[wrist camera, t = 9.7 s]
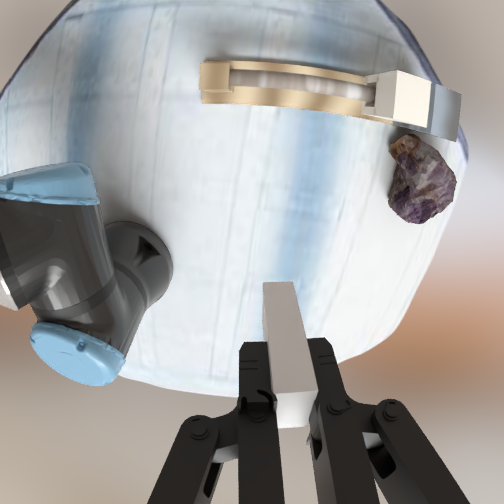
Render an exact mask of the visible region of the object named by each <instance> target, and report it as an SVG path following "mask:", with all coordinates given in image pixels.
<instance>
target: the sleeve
mask: <svg viewBox="0 0 504 504" xmlns="http://www.w3.org/2000/svg"><path fill="white" fill-rule="evenodd" d="M364 85H367V86H372V87H376V95H375V104H374V103H369V102H365V101H363V102H362V112H361V114H364V115H369V116H374V117H379V118H383V119H387V120H392V121H397V122H402V123H407V124H412V125H417V126H421V127H425V128H427V120H428V111H429V101H430V89H431V81H428V80H426V79H423V78H420V77H417V76H414V75H411V74H408V73H405V72H402V71H399V70H395V71H389V72H383V73H378V74H373V75H368V76H365V77H364Z"/></svg>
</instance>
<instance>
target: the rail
mask: <svg viewBox="0 0 504 504" xmlns="http://www.w3.org/2000/svg"><path fill="white" fill-rule="evenodd" d="M199 90H202V104H246V105H264V106H277V107H288V108H297V109H306V110H314V111H322V112H328V113H335V114H341V115H347V116H353V117H358V118H363V119H368V120H373V121H378V122H382V123H387V124H391V125H395V126H400V127H404V128H407V129H411V130H415V131H419V132H423V133H427V134H430V135H434V136H437V137H441V138H444V139H447V140H451V141H454V142H456V139H457V132H458V124H459V115H460V105H461V94H459V93H457V92H455V91H452V90H450V89H448V88H445V87H443V86H440V85H438V84H431V89H430V101H429V111H428V120H427V128H425V127H421V126H417V125H412V124H407V123H402V122H397V121H392V120H387V119H383V118H379V117H374V116H369V115H364V114H361V112H362V102H363V101H365V102H369V103H374V104H375V95H376V87H372V86H367V85H364V77H363V76H358V75H354V74H349V73H344V72H338V71H333V70H327V69H321V68H314V67H307V66H300V65H291V64H281V63H269V62H253V61H204V63H200V81H199Z"/></svg>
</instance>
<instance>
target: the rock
mask: <svg viewBox="0 0 504 504" xmlns="http://www.w3.org/2000/svg"><path fill="white" fill-rule="evenodd" d="M389 153H390V154H391V155H392V157H393V158H394V159H395V160H396V162H397V164H398V165H399V167H398V168H397V170H396V172H395V175H394V186H393V188H392V189H391V190H390V197H389V200H388V204H389V206H390V208H392V209H393V211H395V212H396V213H397V215H399V216H400V217H401V218H402V219H404V220H405V221H406V222H408V223H410V222H411V223H415V224H422V223H424V222H426V221H427V220H428V219H429V218H433V217H434V216H435V215H436V214H437V213H441V212H442V211H443V210H444V209H445V208H446V207H447V206H448V205H449V204H450V203H451V202H453V197H454V191H455V186H456V183H457V181H456V178H455V175H454V172H453V171H452V170H451V169H450V168H449V167H448V165H447V164H446V162H445V160H444V159H443V158H442V157H441V155H440V153H439V152H438V151H437V150H435V149H434V148H433V147H432V146H430V145H428V144H426V143H424V142H422V141H421V140H420V139H419V137H418V136H416V135H414V134H409V133H408V134H406V135H403V136H402V137H400V138H399V139H398V140H397V141H396V142H395V143H392V144H390V145H389Z"/></svg>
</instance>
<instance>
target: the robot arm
mask: <svg viewBox="0 0 504 504" xmlns="http://www.w3.org/2000/svg"><path fill="white" fill-rule="evenodd" d="M100 203H101V202H100V199H99V198H98V196H97V193H96V189H95V184H94V180H93V175H92V172H91V170H90V169H89V168H88V167H87V166H86V165H85V164H83V163H80V162H67V163H58V164H51V165H45V166H40V167H35V168H30V169H25V170H21V171H17V172H13V173H10V174H7V175H4V176H1V177H0V305H2V306H5V307H7V308H10V309H13V310H16V311H17V310H18V309H20V308H21V307H23V306H25V305H27V304H28V303H30V305H31V307H32V309H33V311H34V313H35V315H36V317H37V323H35V324H34V325H33V326H32V331H31V333H30V334H31V335H30V342H31V345H32V347H33V349H34V350H35V352H36V353H37V354H38V356H39V357H40V358H41V359H42V360H43V361H44V362H45V363H47V364H48V365H49V366H50V367H51V368H53V369H54V370H56V371H57V372H59V373H60V374H62V375H64V376H65V377H67V378H69V379H72V380H74V381H77V382H79V383H83V384H87V385H93V386H103V385H107V384H109V383H111V382H112V381H114V380H115V379H116V377H117V375H118V373H119V372H120V370H121V368H122V366H123V365H124V364H125V361H126V360H125V358H126V356H127V353H128V351H129V348H130V346H131V343H132V341H133V339H134V336H135V334H136V331H137V329H138V327H139V324H140V322H141V320H142V317H143V315H144V313H145V311H146V310H147V309H148V308H149V307H150V306H151V305H152V304H153V303H155V302H156V301H158V300H159V299H160V298H161V297H162V296H163V295H164V293H165V292H166V290H167V288H168V286H169V284H170V281H171V278H172V274H173V265H172V260H171V256H170V254H169V251H168V250H167V248H166V246H165V245H164V243H163V242H162V241H161V239H160V238H159V237H158V236H157V235H156V234H154V233H153V232H152V231H150V230H149V229H147V228H146V227H144V226H142V225H139V224H137V223H133V222H127V221H120V222H114V223H111V224H109V225H107V226H105V227H104V223H103V219H102V214H101V209H100ZM262 325H263V338H264V342H244V343H243V345H242V347H241V349H240V350H239V397H238V401H237V406H236V407H235V409H234V410H233V411H231V412H230V413H228V414H226V415H223V416H220V417H216V418H210V417H207V416H205V415H196V416H191V417H189V418H188V419H186V420H185V421H184V423H183V424H182V425H181V427H180V429H179V432H178V434H177V436H176V438H175V441H174V443H173V446H172V448H171V450H170V452H169V455H168V457H167V459H166V462H165V464H164V466H163V468H162V471H161V473H160V475H159V478H158V480H157V482H156V484H155V487H154V489H153V491H152V494H151V496H150V498H149V500H148V503H147V504H210V503H211V499H212V497H213V494H214V491H215V488H216V485H217V481H218V479H219V476H220V473H221V470H222V467H223V463H224V462H226V461H230V460H233V459H236V458H238V481H239V504H285V501H284V490H283V478H282V467H281V457H280V446H279V435H278V428H290V427H301V426H307V425H308V422H309V423H310V433H309V436H308V439H307V444H306V445H309V444H310V448H311V454H312V461H313V467H314V475H315V482H316V489H317V496H318V504H380V502H379V498H378V493H377V489H376V485H375V480H376V482H377V484H378V486H379V488H380V489H381V491H382V493H383V495H384V496H385V498H386V500H387V502H388V504H470V503H469V501H468V500H467V498H466V497H465V495H464V493H463V492H462V490H461V489H460V487H459V485H458V484H457V482H456V481H455V479H454V478H453V476H452V475H451V473H450V472H449V470H448V469H447V467H446V465H445V464H444V462H443V461H442V459H441V458H440V457H439V455H438V454H437V452H436V451H435V449H434V448H433V446H432V445H431V443H430V442H429V440H428V439H427V437H426V436H425V434H424V433H423V432H422V430H421V429H420V427H419V426H418V424H417V423H416V421H415V420H414V418H413V417H412V416H411V414H410V413H409V411H408V410H407V408H406V407H405V406H404V405H403V404H402V403H401V402H400V401H397V400H395V399H387V400H383V401H381V402H380V403H379V404H378V405H370V404H362V403H358V402H356V401H354V400H352V399H351V398H350V397H349V396H348V395H347V393H346V391H345V389H344V385H343V382H342V378H341V375H340V372H339V368H338V365H337V361H336V358H335V356H334V351H333V348H332V345H331V344H330V343H329V342H328V341H327V340H326V338H325V337H324V338H310V339H307V338H306V334H305V330H304V325H303V321H302V317H301V313H300V309H299V305H298V301H297V296H296V292H295V288H294V284H293V282H267V283H263V315H262ZM374 479H375V480H374Z"/></svg>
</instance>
